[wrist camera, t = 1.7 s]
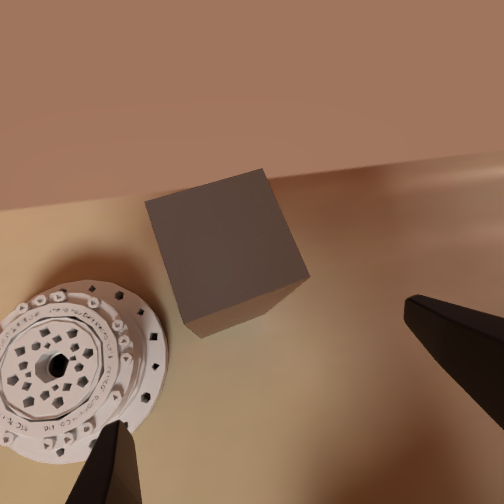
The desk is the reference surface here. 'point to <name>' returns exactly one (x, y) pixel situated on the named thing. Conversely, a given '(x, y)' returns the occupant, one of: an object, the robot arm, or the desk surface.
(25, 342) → the mechanical component
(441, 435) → the desk surface
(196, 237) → the graphite square block
